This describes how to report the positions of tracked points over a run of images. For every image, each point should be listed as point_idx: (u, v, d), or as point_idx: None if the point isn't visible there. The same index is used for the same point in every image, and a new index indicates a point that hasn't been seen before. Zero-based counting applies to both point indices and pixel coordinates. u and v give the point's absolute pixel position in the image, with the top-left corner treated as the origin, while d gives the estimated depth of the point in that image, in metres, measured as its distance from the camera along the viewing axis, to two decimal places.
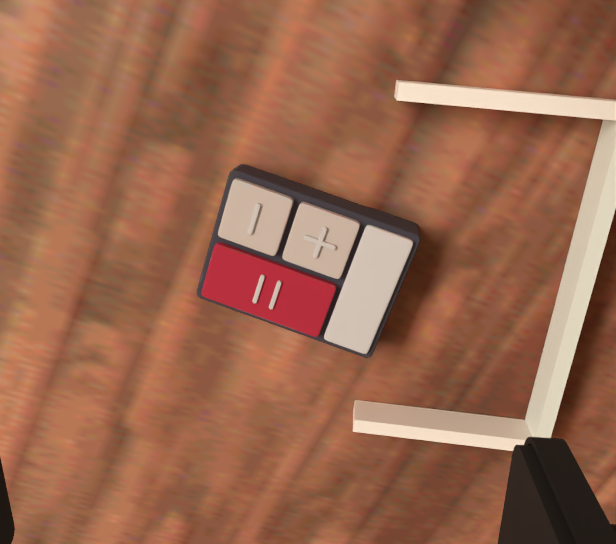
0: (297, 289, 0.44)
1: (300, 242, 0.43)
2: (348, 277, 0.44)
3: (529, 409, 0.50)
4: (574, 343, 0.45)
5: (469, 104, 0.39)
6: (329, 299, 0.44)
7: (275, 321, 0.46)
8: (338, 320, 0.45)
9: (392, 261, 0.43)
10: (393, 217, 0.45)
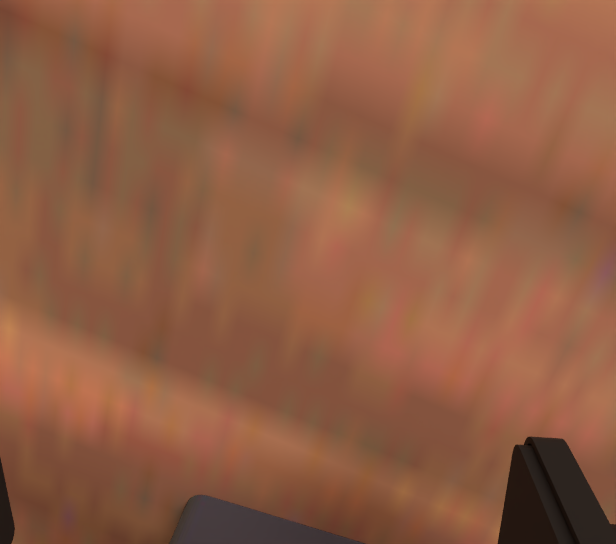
0: None
1: None
2: None
3: None
4: None
5: None
6: None
7: None
8: None
9: None
10: None
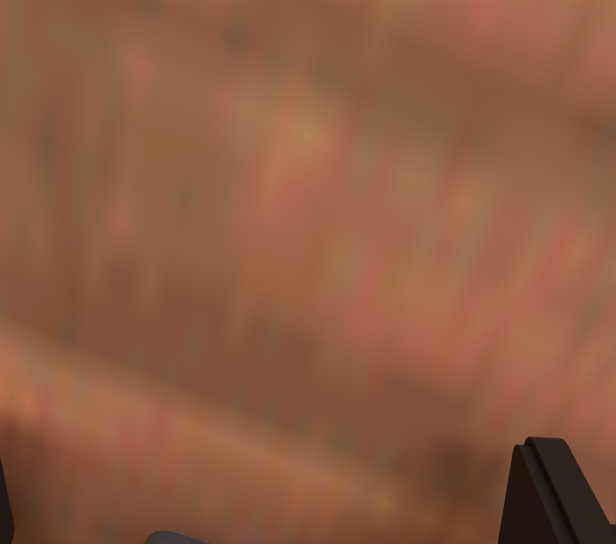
0: None
1: None
2: None
3: None
4: None
5: None
6: None
7: None
8: None
9: None
10: None
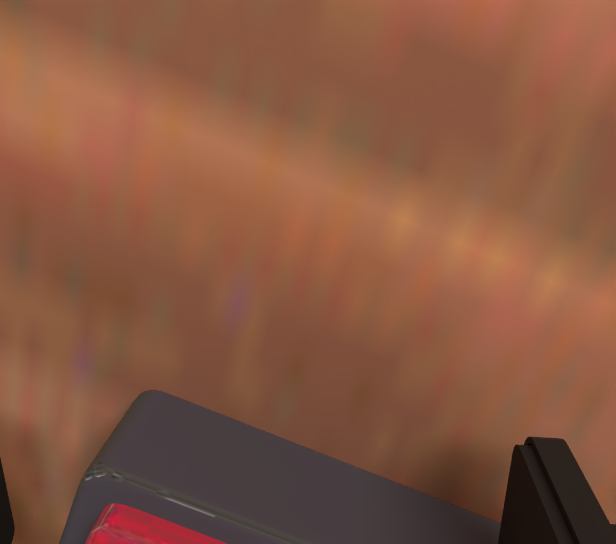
0: None
1: None
2: None
3: None
4: None
5: None
6: None
7: None
8: None
9: None
10: None
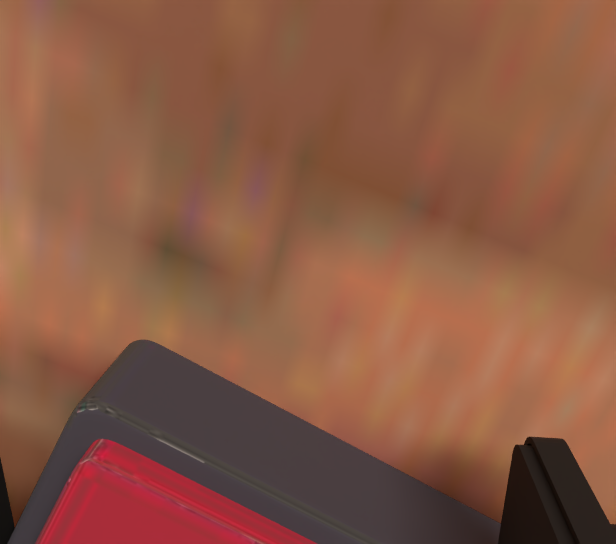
0: None
1: None
2: None
3: None
4: None
5: None
6: None
7: None
8: None
9: None
10: None
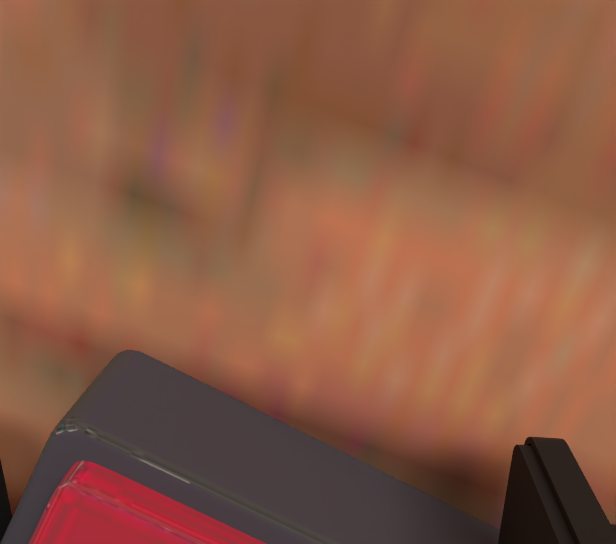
0: None
1: None
2: None
3: None
4: None
5: None
6: None
7: None
8: None
9: None
10: None
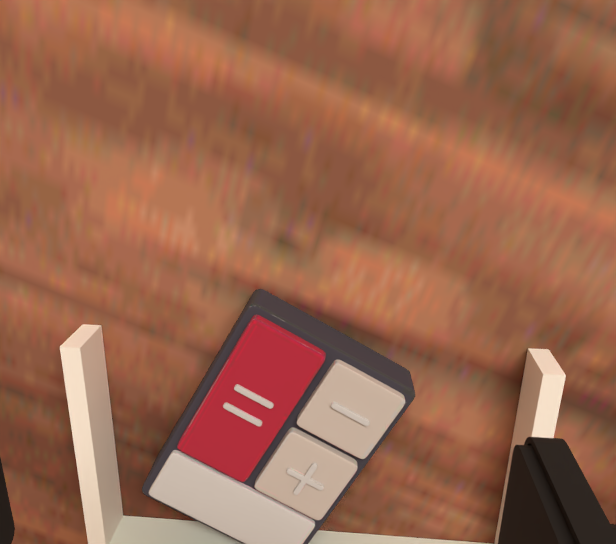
0: (246, 441, 0.34)
1: (308, 457, 0.34)
2: (254, 495, 0.35)
3: (140, 521, 0.41)
4: None
5: None
6: (228, 472, 0.35)
7: (204, 404, 0.33)
8: (198, 473, 0.35)
9: (267, 540, 0.36)
10: None
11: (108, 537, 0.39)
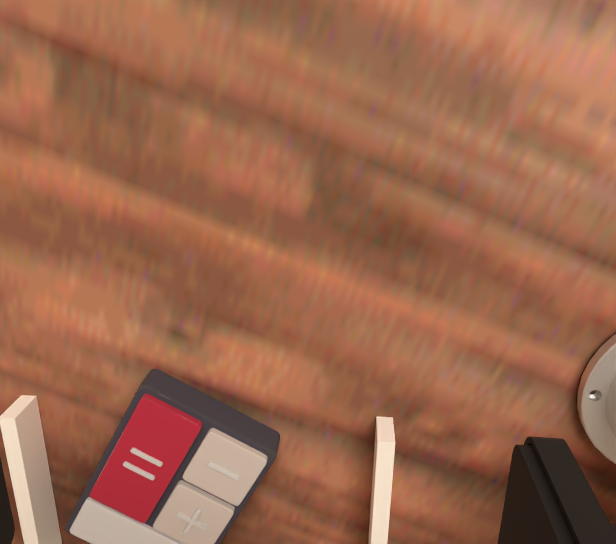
0: (143, 491, 0.42)
1: (193, 504, 0.43)
2: (153, 533, 0.44)
3: None
4: None
5: (375, 499, 0.41)
6: (131, 516, 0.43)
7: (108, 463, 0.42)
8: (107, 516, 0.44)
9: None
10: None
11: None
